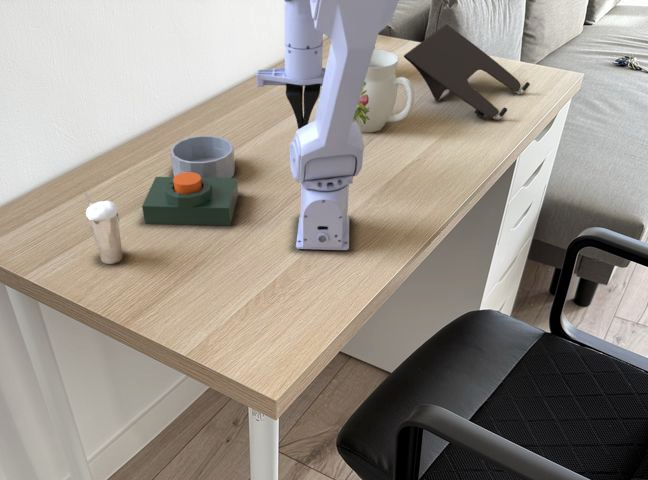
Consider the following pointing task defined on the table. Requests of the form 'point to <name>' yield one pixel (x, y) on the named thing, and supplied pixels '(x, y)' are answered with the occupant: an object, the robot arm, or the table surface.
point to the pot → (204, 157)
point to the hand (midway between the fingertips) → (303, 129)
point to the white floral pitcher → (381, 93)
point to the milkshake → (105, 229)
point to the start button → (187, 183)
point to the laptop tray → (459, 69)
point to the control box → (191, 203)
